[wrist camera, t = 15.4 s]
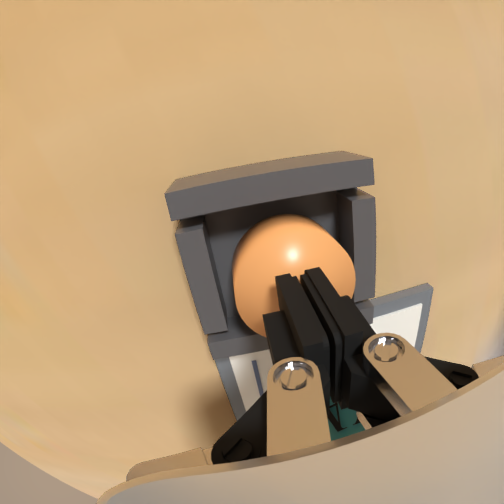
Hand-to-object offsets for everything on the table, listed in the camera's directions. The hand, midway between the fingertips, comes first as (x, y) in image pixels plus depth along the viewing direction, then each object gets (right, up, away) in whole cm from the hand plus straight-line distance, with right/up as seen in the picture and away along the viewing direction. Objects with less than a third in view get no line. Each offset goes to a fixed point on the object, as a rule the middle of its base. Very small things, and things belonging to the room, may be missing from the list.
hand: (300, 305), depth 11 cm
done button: (0, +1, +3) cm, 3 cm away
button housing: (-1, +3, +6) cm, 6 cm away
